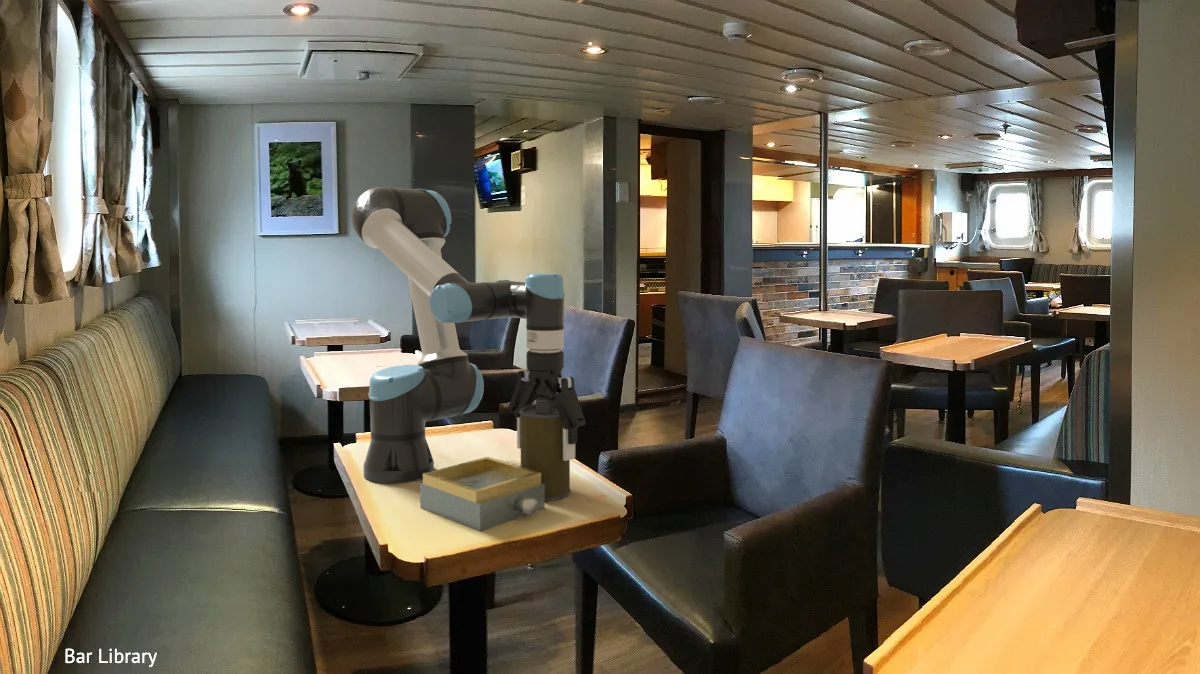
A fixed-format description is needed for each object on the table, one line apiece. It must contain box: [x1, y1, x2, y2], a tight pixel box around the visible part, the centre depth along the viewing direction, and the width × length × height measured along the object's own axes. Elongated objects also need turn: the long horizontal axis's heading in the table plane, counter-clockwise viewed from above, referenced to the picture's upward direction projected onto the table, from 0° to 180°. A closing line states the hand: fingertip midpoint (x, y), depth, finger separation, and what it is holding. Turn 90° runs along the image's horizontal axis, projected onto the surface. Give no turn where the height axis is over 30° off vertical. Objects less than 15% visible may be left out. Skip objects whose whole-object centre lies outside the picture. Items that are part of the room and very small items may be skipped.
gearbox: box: [419, 456, 546, 532], centre depth 152 cm, size 21×16×7 cm
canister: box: [519, 395, 571, 502], centre depth 162 cm, size 11×10×20 cm
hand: (545, 453), depth 162 cm, fingers open, 13 cm apart
